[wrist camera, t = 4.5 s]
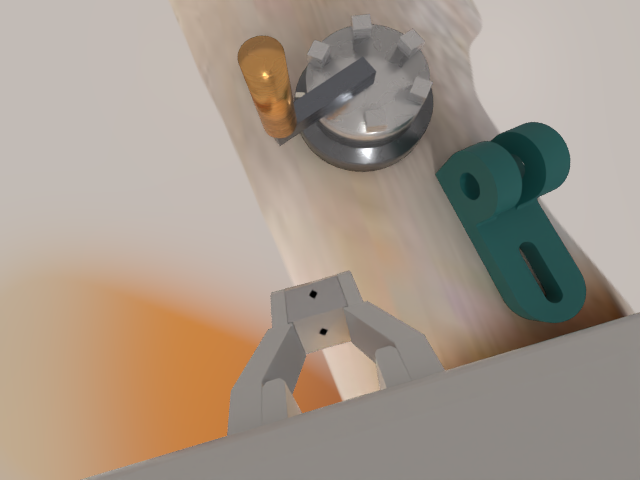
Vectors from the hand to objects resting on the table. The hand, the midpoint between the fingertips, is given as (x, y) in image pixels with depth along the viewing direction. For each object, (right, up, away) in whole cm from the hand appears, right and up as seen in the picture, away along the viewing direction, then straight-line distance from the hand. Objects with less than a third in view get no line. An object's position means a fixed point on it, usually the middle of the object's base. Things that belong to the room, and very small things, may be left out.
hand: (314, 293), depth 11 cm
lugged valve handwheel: (+3, +16, +19) cm, 25 cm away
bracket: (+20, +2, +19) cm, 27 cm away
